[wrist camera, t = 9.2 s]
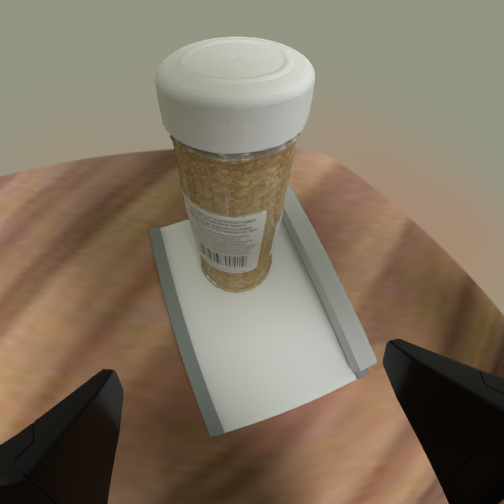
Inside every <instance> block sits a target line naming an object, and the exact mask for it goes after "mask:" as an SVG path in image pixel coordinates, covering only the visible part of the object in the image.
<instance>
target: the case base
mask: <svg viewBox="0 0 504 504" xmlns="http://www.w3.org/2000/svg"><path fill="white" fill-rule="evenodd" d="M149 234H150V239H151V244H152V248H153V253H154V257H155V262H156V266H157V270H158V274H159V279H160V283H161V287H162V291H163V294H164V298H165V302H166V306H167V309H168V313H169V317H170V320H171V324H172V327H173V330H174V334H175V337H176V341H177V344H178V347H179V350H180V353H181V357H182V360H183V363H184V366H185V369H186V372H187V375H188V378H189V381H190V383H191V386H192V389H193V392H194V395H195V398H196V400H197V403H198V406H199V408H200V411H201V414H202V416H203V419H204V421H205V424H206V426H207V429H208V431H209V434H210V436H211V437H215V436H218V435H222V434H225V433H226V432H229V431H233V430H236V429H239V428H242V427H245V426H248V425H251V424H254V423H257V422H260V421H262V420H265V419H268V418H271V417H273V416H276V415H278V414H281V413H284V412H286V411H289V410H291V409H293V408H296V407H298V406H301V405H303V404H305V403H308V402H310V401H312V400H314V399H317V398H319V397H321V396H323V395H325V394H327V393H330V392H332V391H334V390H336V389H338V388H340V387H342V386H344V385H346V384H348V383H350V382H352V381H354V380H355V379H359V378H361V377H363V376H364V375H366V374H368V373H369V370H368V367H370V366H372V365H373V364H375V363H377V359H376V357H375V355H374V352H373V350H372V348H371V346H370V343H369V341H368V339H367V336H366V334H365V332H364V330H363V327H362V325H361V323H360V321H359V319H358V317H357V314H356V312H355V310H354V308H353V306H352V304H351V302H350V299H349V297H348V295H347V293H346V291H345V289H344V287H343V285H342V283H341V281H340V279H339V277H338V275H337V273H336V271H335V269H334V267H333V265H332V263H331V261H330V259H329V257H328V255H327V253H326V251H325V249H324V247H323V245H322V243H321V241H320V239H319V238H318V236H317V234H316V232H315V230H314V228H313V226H312V224H311V223H310V221H309V219H308V217H307V215H306V213H305V212H304V210H303V208H302V206H301V204H300V202H299V201H298V199H297V197H296V195H295V194H294V192H293V190H292V188H291V187H290V185H287V191H286V195H285V200H284V204H283V214H282V219H281V224H280V228H279V233H278V237H277V241H276V244H275V248H274V250H273V252H272V264H271V267H270V270H269V273H268V275H267V277H266V278H265V280H264V281H263V282H262V283H261V284H260V285H258V286H257V287H255V288H253V289H251V290H248V291H245V292H240V293H233V292H227V291H223V290H222V289H219V288H217V287H215V286H214V285H213V284H211V283H210V282H209V280H208V279H207V278H206V276H205V275H204V273H203V270H202V268H201V256H200V253H199V251H198V249H197V246H196V243H195V240H194V236H193V232H192V229H191V225H190V221H189V219H188V220H185V221H181V222H178V223H175V224H172V225H169V226H165V227H162V228H160V226H157V227H154V228H151V229H149Z"/></svg>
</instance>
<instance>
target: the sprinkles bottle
mask: <svg viewBox="0 0 504 504" xmlns="http://www.w3.org/2000/svg"><path fill="white" fill-rule="evenodd" d="M314 81H315V71H314V69H313V67H312V65H311V63H310V62H309V61H308V60H307V58H306V57H304V56H303V55H302V54H301V53H299V52H298V51H296V50H294V49H292V48H290V47H288V46H286V45H283V44H280V43H277V42H274V41H270V40H265V39H260V38H252V37H220V38H213V39H208V40H203V41H199V42H195V43H192V44H189V45H187V46H185V47H182V48H180V49H178V50H176V51H175V52H173V53H172V54H170V55H169V56H168V57H166V58H165V59H164V60H163V62H162V63H161V64H160V66H159V67H158V69H157V72H156V89H157V96H158V101H159V107H160V112H161V116H162V120H163V124H164V126H165V128H166V129H167V131H168V132H169V133H170V134H171V136H170V138H171V140H172V141H173V145H174V150H175V155H176V160H177V165H178V169H179V174H180V185H181V189H182V193H183V198H184V202H185V206H186V210H187V214H188V217H189V221H190V225H191V229H192V232H193V236H194V240H195V243H196V246H197V249H198V251H199V253H200V256H201V268H202V270H203V273H204V275H205V276H206V278H207V279H208V280H209V282H210V283H211V284H213V285H214V286H215V287H217V288H219V289H222V290H223V291H227V292H233V293H240V292H245V291H248V290H251V289H253V288H255V287H257V286H258V285H260V284H261V283H262V282H263V281H264V280H265V278H266V277H267V275H268V273H269V270H270V267H271V264H272V252H273V250H274V248H275V244H276V241H277V237H278V233H279V228H280V224H281V219H282V214H283V204H284V200H285V195H286V191H287V185H288V180H289V177H290V171H291V166H292V162H293V157H294V151H295V144H296V139H297V138H298V137H299V135H300V131H302V129H303V128H304V126H305V124H306V122H307V119H308V116H309V111H310V106H311V101H312V95H313V89H314Z"/></svg>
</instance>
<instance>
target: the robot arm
mask: <svg viewBox="0 0 504 504" xmlns="http://www.w3.org/2000/svg"><path fill="white" fill-rule="evenodd" d="M383 366H384V368H385V371H386V373H387V375H388V378H389V380H390V383H391V385H392V388H393V390H394V393H395V395H396V397H397V399H398V401H399V403H400V405H401V407H402V409H403V411H404V413H405V415H406V416H407V418H408V420H409V422H410V424H411V426H412V428H413V430H414V432H415V434H416V436H417V437H418V439H419V441H420V443H421V445H422V447H423V449H424V451H425V453H426V455H427V457H428V459H429V461H430V463H431V466H432V468H433V470H434V472H435V474H436V476H437V478H438V480H439V482H440V485H441V487H443V488H442V489H443V491H444V494H445V496H446V498H447V500H448V503H449V504H504V378H501V377H497V376H495V375H492V374H489V373H486V372H483V371H481V370H478V369H475V368H473V367H470V366H467V365H465V364H462V363H460V362H457V361H454V360H452V359H449V358H447V357H444V356H441V355H439V354H436V353H434V352H431V351H429V350H426V349H424V348H421V347H419V346H416V345H414V344H411V343H409V342H406V341H404V340H401V339H394V340H390V341H388V343H387V345H386V349H385V353H384V357H383ZM122 402H123V388H122V385H121V383H120V381H119V378H118V376H117V373H116V372H115V371H114V370H111V369H103V370H101V371H100V372H99V373H97V374H96V375H95V376H93V377H92V378H91V379H89V380H88V381H87V382H86V383H84V384H83V385H82V386H80V387H79V388H78V389H76V390H75V391H74V392H72V393H71V394H70V395H69V396H67V397H66V398H65V399H63V400H62V401H61V402H59V403H58V404H57V405H55V406H54V407H53V408H52V409H50V410H49V411H48V412H46V413H45V414H44V415H42V416H41V417H40V418H38V419H37V420H36V421H34V424H33V423H32V424H30V425H29V426H28V427H27V428H25V429H24V430H22V431H21V432H20V433H18V434H17V435H15V436H14V437H12V438H11V439H9V440H8V441H6V442H5V443H3V444H1V445H0V504H107V502H108V495H109V488H110V481H111V475H112V469H113V464H114V458H115V453H116V448H117V442H118V437H119V432H120V422H121V411H122Z"/></svg>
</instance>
